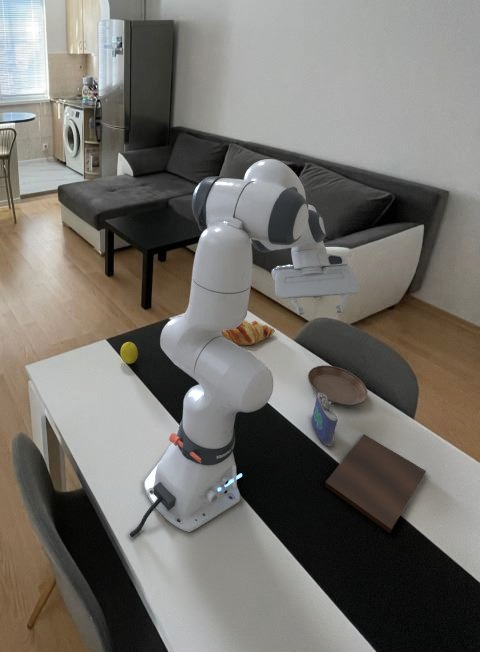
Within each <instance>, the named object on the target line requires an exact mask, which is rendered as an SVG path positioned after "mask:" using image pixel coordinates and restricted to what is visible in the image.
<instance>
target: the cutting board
mask: <svg viewBox="0 0 480 652" xmlns="http://www.w3.org/2000/svg"><path fill="white" fill-rule="evenodd" d="M426 473H427V470H426V469H424V468H422V467H420V466H419V465H417V464H415V463H414V462H413V461H411V460H409V459H407V458H405V457H403V456H402V455H400V454H399V453H397V452H395V451H394V450H392V449H390V448H388V447H387V446H385V445H384V444H382V443H380V442H378V441H377V440H375V439H373V438H372V437H370V436H368V435H367V434H365V433H364V434H362V436H361V437H360V438H359V440H358V441H357V442H356V443H355V445H354V446H353V447H352V448H351V450H350V451H349V452H348V453H347V454H346V456H345V457H344V458H343V460H342V461H341V462H340V463H339V464H338V466H337V467H336V468H335V469H334V471H333V472H332V473H331V474H330V475H329V477H328V478H327V479H326V481H325V484H324V487H325V488H326V489H328V490H329V491H330V492H332V493H333V494H334V495H336V496H337V497H339V498H340V499H341V500H342V501H344V502H346V503H347V504H348V505H350V506H351V507H353V508H354V509H355V510H357V511H358V512H359V513H361V514H363V515H364V516H365V517H367V519H369V520H370V521H372V522H373V523H375V524H376V525H377V526H379V527H380V528H381V529H383V530H384V531H386V532H387V533H388V534H391V533H392V531H393V530H394V528H395V526H396V524H397V523H398V522H399V520H400V518H401V516H402V515H403V513H404V512H405V510H406V508H407V506H408V505H409V503H410V501H411V499H412V498H413V497H414V495H415V493H416V491H417V489H418V488H419V486H420V485H421V483H422V481H423V479H424V478H425V476H426Z"/></svg>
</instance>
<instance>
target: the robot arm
mask: <svg viewBox="0 0 480 652" xmlns="http://www.w3.org/2000/svg"><path fill="white" fill-rule="evenodd" d="M306 196H307V195H306V190H305V188H304V185H303V183H302V181H301V180H300V178H299V177H298V175H297V174H296V172H294V171H293V169H292V168H291V167H289V165H287V164H285V163H284V162H282V161H280V160H278V159H274V158H265V159H261V160H258V161H256V162H254V163H253V164H252V165H250V167H248V169H247V170H246V172H245V174H244V177H243V179H240V178H230V177H229V178H226V177H225V176H221V175H219V176H218V175H217V176H208V177H207V176H206V177H205V178H203V179H202V180H201V181H200V182H199V183H198V184H197V186H196V187H195V189H194V191H193V194H192V198H191V210H192V215H193V217H194V219H195V221H196V223H197V227H198V229H199V231H201V234H200V236H199V240H198V242H197V245H196V250H195V254H194V259H193V265H192V272H191V273H192V274H191V282H190V292H189V293H190V294H189V300H188V305H187V308H186V311H184V312H185V313H183V314H182V315H178V316H176V317H173V318H172V319H170V320H168V322H167V323H166V324H165V325H164V326H163V328H162V331H161V333H160V339H159V343H160V348H161V350H162V351H163V353H164V354H165V355H166V357H168V359H169V360H170V361H171V362H172V363H173V364H174V365H175V366H176V367H177V368H178V369H180V370H181V371H183V372H184V373H185V374H186V375H188V376H189V377H191V378H192V379H193V380H195V381H196V382H197V383H198V384H196V385H194V386H191V387H190V388H189V390H187V391H186V393H185V395H184V398H183V402H182V403H183V404H182V417H181V421H180V423H179V426H178V430H177V433H175V432H172V433H171V434H170V435H169V437H168V441H169V442H170V445H169V446H168V448H167V450H166V451H165V452H164V454H163V456H162V458H161V459H160V461H158V463H157V464H156V465H155V467H154V468H153V470H151V473H149V475H148V476H147V477H146V479H145V480H144V484H143V486H144V491H145V494H146V496H147V498H148V500H149V501H150V503H151V504H152V505H151V506H150V507H149V508H148V509H147V510H146V512H145V513H144V515H143V516H142V518H141V520H140V522H139V524H138V525H137V526H136V528H134V529H133V530H132V531H131V532H129V536H130V538H133V537H135V536H136V535H137V534H139V532H140V531H141V530H142V529H143V527H144V525H145V524H146V522H147V519H148V518H149V516H150V515H151V514H152V512H153V511H154V510H155V509H156V510H157V512H158V513H159V514H160V515H161V516H163V518H165V519H166V520H167V521H168V522H169V523H170V524H171V525H173V526H175V527H176V528H177V529H179V530H182V531H184V532H187V533H190V532H193V531H195V530H196V529H198V528H200V527H201V526H203V525H204V524H206V523H208V522H209V521H211V520H213V519H214V518H215V517H217V516H219V515H220V514H222V513H224V512H226V511H227V510H229V509H230V508H232V507H233V506H235V505H237V504H238V503H239V502H240V501H241V493H240V490H239V488H238V484H237V483H238V481H237V480H238V479H240V478H242V477H243V474H242V473H239V474H238V475H237V464H236V461H235V456H234V449H235V443H236V433H235V427H234V426H235V422H236V416H237V413H253V412H256V411H258V410H261V409H262V408H263V407H265V406H266V405H267V403H268V402H269V401H270V399H271V397H272V395H273V392H274V378H273V377H274V376H273V373H272V371H271V370H270V369H269V367H267V366H266V365H265V364H264V363H263V362H262V361H261V360H259V358H258V357H256V356H255V355H254V354H253V353H251V352H250V351H248V350H246V349H245V348H243V347H242V346H241V345H237V344H235V343H233V342H232V341H230V340H228V339H227V338H226V337H224V336H223V334H222V331H224V330H230V329H233V328H236V327H238V326H239V325H240V324H241V323H242V322H243V321H244V320H246V318H247V316H248V309H249V302H250V295H251V288H252V279H253V248H254V249H255V250H257V251H258V252H260V253H262V254H263V253H269V252H273V251H278V250H279V251H280V250H287V249H291V250H290V254H291V260H292V263H291V264H285V265H276V266H275V267H274V268H273V269H271V273H270V274H271V279H272V281H273V282H274V292H275V296H276V297H277V299H280V300H281V299H282V300H283V299H284V300H285V299H290V303H291V304H292V305H293V306H294V308H296V314H297V315H298V316H302V315H304V308H303V307H299V305H297V303H298V302H297V301H298V300H297V299H298V298H312V297H313V298H314V297H328V296H329V297H330V296H338V299H339V300H340V303H339V305H335V309H336V313H337V314H340V313H344V308H343V306H344V304H345V301H346V299H347V298H346V295H356V294H358V293H359V292H360V291H361V289H360V288H361V287H360V285H359V282H358V281H359V280H358V278H357V275H356V274H355V271H354V269H353V267H351V266H349V260H348V257H346V256H344V255H338V254H332V253H328V252H327V248H326V246H325V243H324V239H325V238H326V237H327V230H326V225H325V220H324V219H325V218H324V217H323V215H321V214H320V213H318V212H317V209H316V208H315V206H314V205H311V204H309V203H308V202H307V197H306Z"/></svg>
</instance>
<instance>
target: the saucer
mask: <svg viewBox="0 0 480 652" xmlns="http://www.w3.org/2000/svg"><path fill="white" fill-rule="evenodd" d="M307 380H308V383H309V385H310V386H311V387H312V389H313V390H314V391H315V392H316V393H317V394H318V393H323V394H325V395H326V396H327V397H328V402H330V401H331V404H332V403H333V404H335V405H339V406H345V407H346V406H347V407H348V406H349V407H350V406H356V405H359V404H361V403H363V402H365V401H366V400H367V398H368V395H369V393H368V389H367V387H366V384H365V383H364V381H362V380H361V379H360V378H359V377H358V376H356V375H355V374H354V373H352V372H350V371H348V370H346V369H344V368H342V367H338V366H333V365H326V364H324V365H317V366H314V367H311V369H310V370H309V371H308V374H307Z"/></svg>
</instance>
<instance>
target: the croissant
mask: <svg viewBox="0 0 480 652" xmlns="http://www.w3.org/2000/svg"><path fill="white" fill-rule="evenodd" d="M274 329H275V328H272V327H271V326H269V325H268V324H262V323H259V322H258V321H256V320H253V321H251V322H248V320H246V319H245V320H244V321H243V322H242V323H241V324H240V325H239V326H238V327H236V328H233V329H230V330H224V331H222V334H223V336H224V337H226V338H227V339H228V340H230V341H232V342H233V343H235V344H237V345H238V346H246V345H247V346H249V345H256V344H257V343H259V342H261V341H264V340H265V339H266V338H269V337H271V336H273V335H274V334H275V332H276V330H274Z"/></svg>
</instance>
